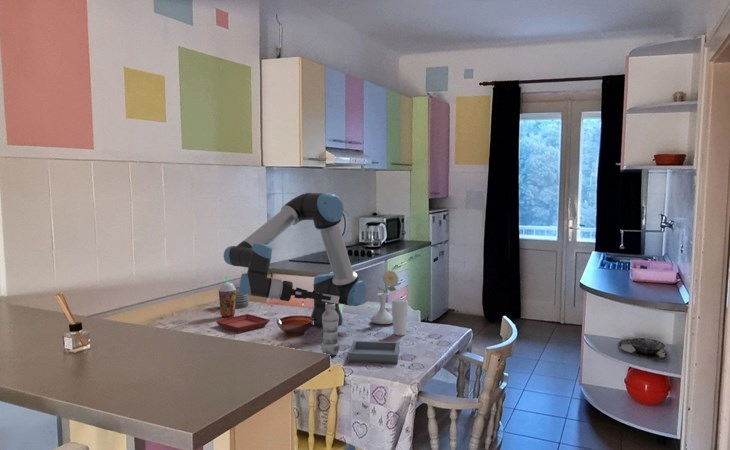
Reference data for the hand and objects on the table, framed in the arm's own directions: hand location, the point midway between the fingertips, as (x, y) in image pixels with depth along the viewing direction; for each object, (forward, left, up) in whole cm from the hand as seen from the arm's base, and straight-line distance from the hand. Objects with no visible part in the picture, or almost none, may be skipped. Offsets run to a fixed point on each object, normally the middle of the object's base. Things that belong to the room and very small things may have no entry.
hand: (334, 299), depth 216 cm
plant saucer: (-33, -48, -21) cm, 62 cm away
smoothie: (-49, -61, -21) cm, 81 cm away
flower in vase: (-46, +16, -21) cm, 53 cm away
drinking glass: (-28, +24, -21) cm, 42 cm away
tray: (+4, +16, -21) cm, 26 cm away
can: (-72, -64, -21) cm, 99 cm away
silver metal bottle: (+4, -1, -21) cm, 21 cm away
